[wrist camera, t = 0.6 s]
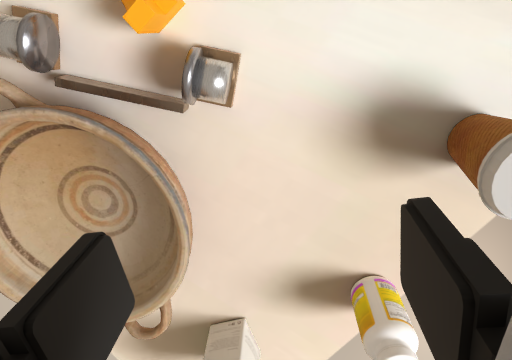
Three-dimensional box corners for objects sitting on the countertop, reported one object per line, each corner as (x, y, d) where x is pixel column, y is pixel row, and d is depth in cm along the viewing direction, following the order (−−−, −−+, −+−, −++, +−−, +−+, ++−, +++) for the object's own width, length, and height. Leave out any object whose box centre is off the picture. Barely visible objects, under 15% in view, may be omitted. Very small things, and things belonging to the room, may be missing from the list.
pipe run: (19, 6, 39) (-28, 2, 33) (241, 53, 39) (233, 58, 33) (24, 73, 42) (-18, 81, 36) (230, 117, 42) (221, 131, 36)
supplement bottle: (355, 312, 53) (376, 392, 41) (344, 279, 51) (363, 355, 39) (399, 303, 52) (433, 383, 40) (390, 269, 49) (424, 344, 38)
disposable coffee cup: (426, 116, 40) (479, 149, 29) (514, 87, 38) (606, 111, 27) (439, 185, 44) (491, 238, 33) (521, 162, 42) (605, 210, 31)
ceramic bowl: (255, 265, 51) (249, 317, 42) (101, 316, 57) (66, 371, 48) (115, 14, 38) (63, 10, 29) (-62, 116, 45) (-150, 139, 36)
